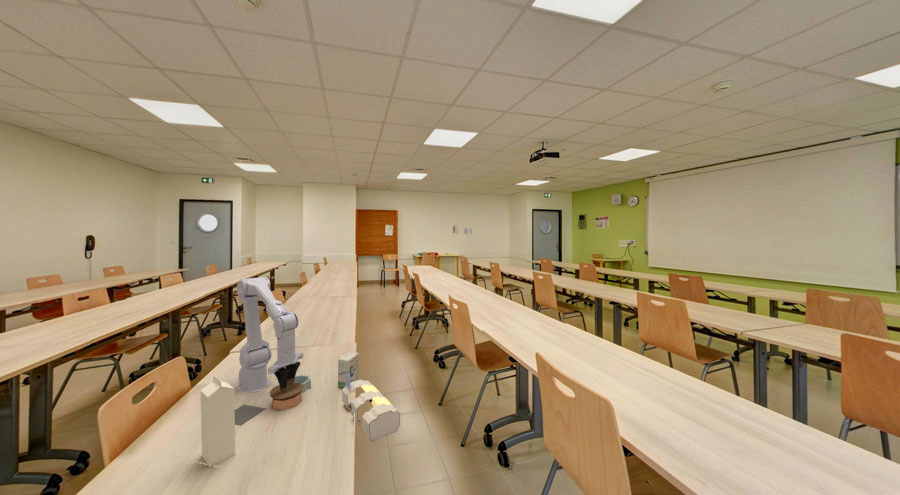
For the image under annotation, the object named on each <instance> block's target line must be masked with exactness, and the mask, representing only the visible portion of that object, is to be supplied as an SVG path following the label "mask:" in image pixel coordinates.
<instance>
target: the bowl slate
mask: <svg viewBox="0 0 900 495" xmlns="http://www.w3.org/2000/svg"><path fill="white" fill-rule="evenodd" d="M294 382H296V383H300V384H302V391H301V394H302V393H305V392H307V391H308V390H310V389H312V387H311V386H312V385H311V384H312V382H311V376H310V375H305V374H300V375H295V379H294Z"/></svg>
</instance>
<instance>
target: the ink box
mask: <svg viewBox="0 0 900 495" xmlns="http://www.w3.org/2000/svg"><path fill="white" fill-rule="evenodd" d="M337 360H338V362H337V388H338V389H339V388H340V389H343V388H344V387H345V386H346V375H347V374H348V372H349V373H350V379H351V381H350V383H351V382H354V381H358V380H360V376H359V375H360V374H359V373H360V352H353V351H348V352H346V353H345V354H343V355H342V356H341V357H339V358H338V359H337Z"/></svg>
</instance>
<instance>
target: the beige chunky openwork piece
mask: <svg viewBox="0 0 900 495" xmlns="http://www.w3.org/2000/svg"><path fill="white" fill-rule="evenodd" d="M350 381H351V379H350V373H349V372H348V374H347V375H346V386H345V387H344V388H342V393H341V395H342V396H341V398H342V400H341V401H342V403H343V404H344V405H345V407H346V408H347V410H348V411H349V410H350V409H351V410H350V411H351V415H352V417H353V418H354V413H355V418H354V419H355V421H356V422H357V423H358V425H359V426H361V428H362V431H363V432H364V434H365V435H366V437H367V438H368V439H369V440H370V442H375V441H378V440H380V439H383V438H385V437H387V436H389V435H392V434H394V433H397V432H398V430H399V428H400V427H401V411H399V410H398V408H396V406H394V405H393V404H392V403H391V402H390V401H389V399H388V398H386V397H385V396H384V395H383V394H382V392H380V391H379V390H378V388H377V387H375V385H373V383H372V382H371V381H369V380H364V379H358V380H357V381H354V382H351V383H350ZM359 388H361V389H362V390H363V391H364V392H362V393H360V394H359V396H358V397H354V398H353V400H352V401H351V407H350V406H349V395H350V393H351V394H352V393H355V390H357V389H359ZM368 401H369V403H370V404H371V405H372V406H371V408H370V409H369V410H368V411H365V413H363V415H362V416H361V417H362V418H361V420H362V422H361V420H360V419H359V408H360V406H364V405H366V402H368ZM361 424H362V425H361Z"/></svg>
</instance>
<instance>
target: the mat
mask: <svg viewBox="0 0 900 495" xmlns="http://www.w3.org/2000/svg"><path fill="white" fill-rule="evenodd" d="M267 409H268V408H266V407H260V406H255V405H248V404H242V405H240V406H239V407H237V408H234V411H235V426H240V427H241V426H243V425H244V424H246V423H247V422H249V421H250V420H252V419H254V418H255V417H256V416H258V415H259V414H261V413H262V412H264V411H265V410H267Z"/></svg>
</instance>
